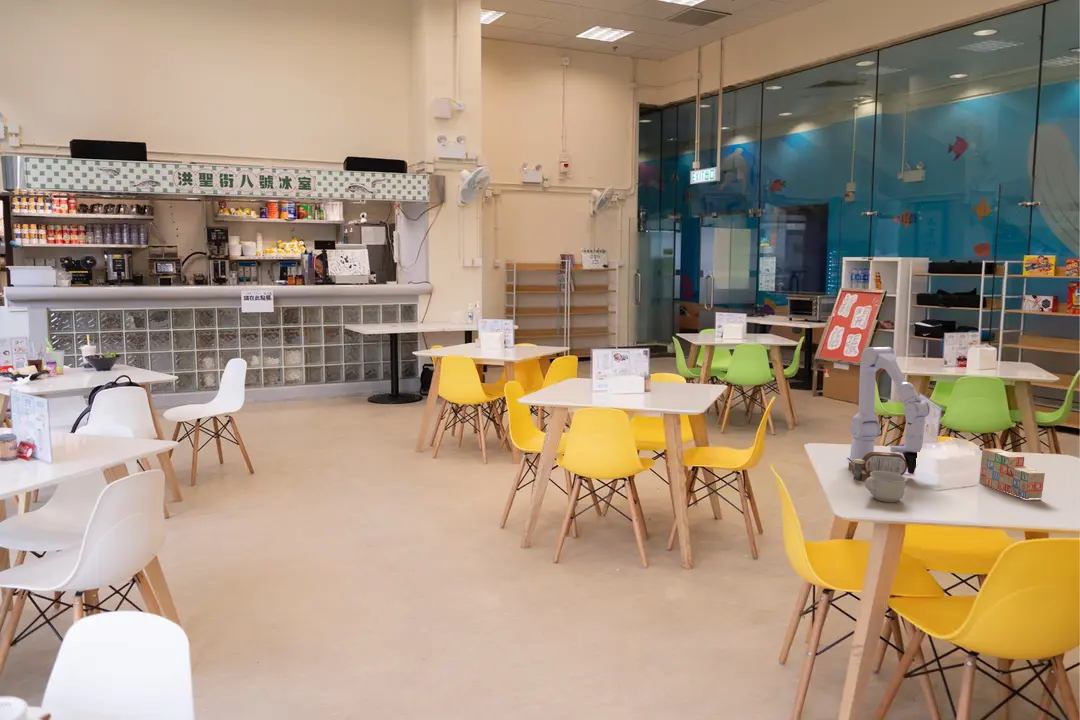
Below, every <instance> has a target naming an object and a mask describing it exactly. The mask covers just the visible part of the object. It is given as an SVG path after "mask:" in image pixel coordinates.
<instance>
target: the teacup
mask: <svg viewBox="0 0 1080 720" xmlns="http://www.w3.org/2000/svg"><path fill="white" fill-rule="evenodd" d="M907 479H908V478H907V477H906V476H904V475H899V474H896V473H892V472H887V471H872V472H870V477H869V478H867V479H866V481H864V487H865V488H866V490H867V491H869V494H871V495H872V496H873V498H874V499H875V500H877V501H881V502H885V503H895V502H898V501H899V500H901V499H902V498H903V497H904V495H905V491H906V484H907V481H908V480H907Z"/></svg>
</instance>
